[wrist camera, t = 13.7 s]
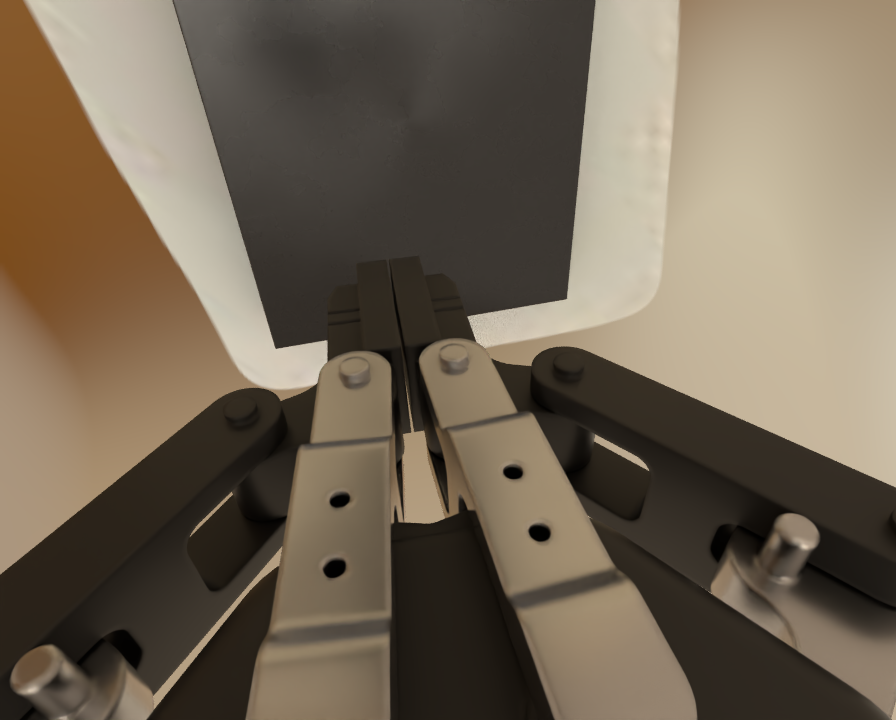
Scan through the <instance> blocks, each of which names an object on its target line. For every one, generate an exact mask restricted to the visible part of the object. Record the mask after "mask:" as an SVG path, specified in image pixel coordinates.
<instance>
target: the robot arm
mask: <svg viewBox="0 0 896 720" xmlns="http://www.w3.org/2000/svg"><path fill="white" fill-rule="evenodd" d="M389 267H390V276H391V284H392V290H391V284H390V278H389V273H388V267H387V261H386V260H378V261H369V262H360V263H356V269H357V281H358V284H350V285H342V286H336V288H335V289H334V290H333V292H332V293H331V295H330V296H329V298H328V362H327V363H326V364H325V365H324V366H323V367H322V369H321V371H320V373H319V378H318V383H317V384H316V385H315V386H313V387H312V388H310V389H309V390H307V391H305V392H303V393H301V394H298V395H296V396H293V397H291V398H288V399H285V400H283V401H280V399H279V398H278V396H277V395H276V394H274V393H273V392H271V391H269V390H266V389H261V388H247V389H241V390H237V391H234V392H231V393H229V394H226V395H225V396H223V397H221V398H220V399H218V400H217V401H215V402H214V403H212V404H211V405H210V406H209V407H208V408H206V409H205V410H204V411H203V412H201V413H200V414H199V415H198V416H196V417H195V418H194V419H193V420H191V421H190V422H189V423H188V424H186V425H185V426H184V427H183V428H182V429H180V430H179V431H178V432H177V433H175V434H174V435H173V436H172V437H170V438H169V439H168V440H167V441H165V442H164V443H163V444H162V445H160V446H159V447H158V448H157V449H155V450H154V451H153V452H152V453H150V454H149V455H148V456H147V457H146V458H145V459H143V460H142V461H141V462H140V463H138V464H137V465H136V466H134V467H133V468H132V469H131V470H129V471H128V472H127V473H126V474H124V475H123V476H122V477H121V478H119V479H118V480H117V481H116V482H115V483H113V484H112V485H111V486H110V487H108V488H107V489H106V490H105V491H103V492H102V493H101V494H100V495H98V496H97V497H96V498H95V499H93V500H92V501H91V502H90V503H89V504H87V505H86V506H85V507H84V508H82V509H81V510H80V511H79V512H77V513H76V514H75V515H74V516H72V517H71V518H70V519H69V520H67V521H66V522H65V523H64V524H62V525H61V526H60V527H59V528H58V529H56V530H55V531H54V532H53V533H51V534H50V535H49V536H48V537H46V538H45V539H44V540H43V541H42V542H40V543H39V544H38V545H36V546H35V547H34V548H33V549H32V550H30V551H29V552H28V553H27V554H25V555H24V556H23V557H22V558H20V559H19V560H18V561H17V562H16V563H14V564H13V565H12V566H10V567H9V568H8V569H7V570H5V571H4V572H3V573H2V574H1V575H0V720H892V719H891V717H892V713H893V709H894V706H895V702H896V488H895V487H893V486H891V485H889V484H886V483H884V482H882V481H879V480H877V479H875V478H873V477H870V476H868V475H866V474H864V473H861V472H859V471H857V470H855V469H852V468H850V467H848V466H846V465H843V464H841V463H839V462H837V461H834V460H832V459H830V458H828V457H825V456H823V455H821V454H819V453H816V452H814V451H812V450H809V449H807V448H805V447H803V446H800V445H798V444H796V443H794V442H791V441H789V440H787V439H785V438H782V437H780V436H778V435H776V434H773V433H771V432H769V431H767V430H764V429H762V428H760V427H757V426H755V425H753V424H751V423H749V422H746V421H744V420H741V419H739V418H737V417H735V416H732V415H730V414H728V413H726V412H724V411H721V410H719V409H717V408H714V407H712V406H710V405H708V404H706V403H703V402H701V401H699V400H697V399H694V398H692V397H690V396H688V395H685V394H683V393H680V392H678V391H676V390H674V389H671V388H669V387H667V386H665V385H663V384H660V383H658V382H656V381H654V380H651V379H649V378H647V377H645V376H642V375H640V374H638V373H635V372H633V371H631V370H629V369H627V368H624V367H622V366H620V365H617V364H615V363H613V362H611V361H608V360H606V359H604V358H602V357H599V356H597V355H595V354H592V353H590V352H588V351H585V350H583V349H579V348H574V347H554V348H550V349H547V350H544V351H542V352H541V353H539V354H538V355H537V356H536V357H535V358H534V360H533V362H532V366H522V365H512V364H505V363H501V362H499V361H496V360H493V359H491V358H490V356H489V354H488V352H487V351H486V349H485V348H484V347H483V346H481V345H480V344H478V343H476V340H475V337H474V334H473V331H472V329H471V326H470V323H469V320H468V317H467V314H466V312H465V309H464V307H463V303H462V300H461V298H460V295H459V292H458V289H457V286H456V283H455V282H453V281H452V280H451V279H450V278H448V277H447V276H446V275H445V274H443V273H441V274H433V275H425V276H424V272H423V269H422V265H421V261H420V258H419V256H411V257H403V258H394V259H389ZM392 293H393V296H392ZM405 381H406V383H405ZM406 386H407V392H408V398H409V404H410V410H411V415H412V421H413V428H414V432H417V431H423V430H424V431H425V437H426V442H427V454H428V461H429V465H430V468H431V471H432V475H433V478H434V482H435V485H436V489H437V492H438V496H439V499H440V502H441V506H442V509H443V513H444V516H445V519H443V520H441V521H438V522H435V523H431V524H422V523H406V511H405V488H404V487H405V486H404V464H403V454H404V439H403V434H405V433H411V427H410V419H409V410H408V401H407V392H406ZM595 434H596V435H598V436H600V437H602V438H604V439H605V440H607V441H609V442H611V443H613V444H615V445H617V446H618V447H620V448H622V449H624V450H626V451H628V452H630V453H632V454H634V455H635V456H637V457H639V458H640V459H641V460H642V461H643V462H644V463H645V464H646V465H647V467H648V469H649V471H648V470H646V469H644V468H642V467H640V466H639V465H637V464H635V463H633V462H631V461H629V460H627V459H626V458H624V457H622V456H620V455H618V454H616V453H614V452H612V451H611V450H609V449H607V448H605V447H603V446H601V445H600V444H598V443H596V442H594V438H595ZM231 492H232V493H233V495H232V496H231V497H230V498H229V499H228V500H227V501H226V502H225V503H224V504H223V505H222V506H221V507H220V508H219V509H218V510H217V511H216V512H215V513H214V514H213V515H212V516H211V517H210V518H209V519H208V520H207V521H206V522H205V523H204V524H203V525H202V526H201V527H200V528H199V529H198V530H197V531H196V532H195V533H194V534H193V535H192V536H191V537H190V535H191V533H192V531H193V530H194V529H195V527H196V526H197V525H198V524H199V523H200V522H201V521H202V520H203V519H204V518H205V517H206V516H207V515H208V514H209V513H210V512H211V511H212V510H213V509H214V508H215V507H216V506H217V505H218V504H219V503H220V502H221V501H222V500H223V499H224V498H225V497H226V496H228V495H229V494H230V493H231ZM588 516H589V517H591V518H589V517H588ZM189 537H190V538H189ZM281 547H282V552H281V559H280V565H279V566H278V567H276V568H275V569H274V570H272V571H271V572H270V573H269V574H268V575H266V576H265V577H264V578H263V579H261V580H260V581H259V582H258V583H257V584H256V585H255V586H254V587H253V588H252V590H250V591H249V593H248V594H247V595H246V596H245V597H244V599H243V600H242V601H241V602H240V604H239V605H238V606H237V607H236V609H235V610H234V611H233V612H232V614H231V615H230V616H229V617H228V618H227V620H226V621H225V622H224V623H223V625H222V626H221V627H220V629H219V630H218V631H217V632H216V633H215V635H214V636H213V637H212V638H211V640H210V641H209V642H208V643H207V645H206V646H205V647H204V648H203V649H202V651H201V652H200V653H199V654H198V656H197V657H196V658H195V659H194V661H193V662H192V663H191V664H190V666H189V667H188V668H187V669H186V671H185V672H184V673H183V674H182V676H181V677H180V678H179V679H178V681H177V682H176V683H175V684H174V686H173V687H172V688H171V689H170V691H169V692H168V693H167V694H166V695H165V697H164V698H163V699H162V700H161V702H160V703H159V704H158V705H157V707H156V708H155V709H154V700H153V696H154V694H155V693H156V692H157V691H158V690H159V688H160V687H161V686H162V685H163V684H164V683H165V682H166V680H167V679H168V678H169V677H170V676H171V675H172V674H173V672H174V671H175V670H176V669H177V668H178V667H179V665H180V664H181V663H182V662H183V661H184V659H185V658H186V657H187V656H188V655H189V653H191V652H192V650H193V649H194V648H195V647H196V646H197V645H198V643H199V642H200V641H201V640H202V639H203V638H204V636H205V635H206V634H207V633H208V632H209V631H210V629H211V628H212V627H213V626H214V625H215V624H216V622H217V621H218V620H219V619H220V618H221V616H222V615H223V614H224V613H225V612H226V611H227V610H228V608H229V607H230V606H231V605H232V604H233V603H234V601H235V600H236V599H237V598H238V597H239V596H240V594H241V593H242V592H243V591H244V590H245V589H246V587H247V586H248V585H249V584H250V583H251V582H252V581H253V579H254V578H255V577H256V576H257V575H258V574H259V572H260V571H261V570H262V569H263V568H264V567H265V565H266V564H267V563H268V562H269V561H270V560H271V558H272V557H273V556H274V555H275V554H276V553H277V551H278V550H279V549H280V548H281ZM702 587H703V588H702ZM705 589H706V590H705ZM708 591H709V592H711V593H712V594H711V593H709V592H708Z"/></svg>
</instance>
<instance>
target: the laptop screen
mask: <svg viewBox="0 0 896 720" xmlns="http://www.w3.org/2000/svg"><path fill="white" fill-rule="evenodd" d="M173 4H174V7H175V11H176V14H177V17H178V21H179V24H180V27H181V31H182V34H183V38H184V41H185V44H186V48H187V51H188V55H189V58H190V61H191V65H192V68H193V71H194V75H195V78H196V82H197V85H198V88H199V92H200V95H201V98H202V102H203V105H204V109H205V112H206V115H207V119H208V122H209V125H210V129H211V132H212V136H213V139H214V142H215V146H216V149H217V153H218V156H219V159H220V163H221V166H222V169H223V173H224V176H225V180H226V183H227V186H228V190H229V193H230V196H231V200H232V203H233V207H234V210H235V213H236V217H237V220H238V223H239V227H240V230H241V234H242V237H243V240H244V244H245V247H246V251H247V254H248V257H249V261H250V264H251V267H252V271H253V274H254V278H255V281H256V284H257V288H258V291H259V294H260V298H261V301H262V305H263V308H264V311H265V315H266V318H267V321H268V325H269V328H270V332H271V335H272V338H273V342H274V345H275V348H276V349H277V348H283V347H289V346H295V345H301V344H307V343H313V342H319V341H324V340H328V298H329V296H330V295H331V293H332V292H333V290H334V289H335V288H336V286H342V285H350V284H358V281H357V269H356V263H360V262H369V261H378V260H386V261H387V267H388V273H389V278H390V284H391V276H390V267H389V259H394V258H403V257H411V256H419V258H420V261H421V265H422V269H423V272H424V276H425V275H433V274H441V273H443V274H445V275H446V276H447V277H448V278H450V279H451V280H452V281H453V282H455V283H456V286H457V289H458V292H459V295H460V298H461V300H462V303H463V307H464V309H465V312H466V314H467V316H471V315H477V314H483V313H488V312H494V311H500V310H506V309H512V308H518V307H524V306H529V305H535V304H541V303H547V302H553V301H559V300H565V299H567V291H568V281H569V270H570V260H571V249H572V239H573V229H574V218H575V208H576V197H577V187H578V177H579V166H580V156H581V145H582V135H583V125H584V114H585V104H586V93H587V83H588V72H589V62H590V52H591V41H592V31H593V20H594V10H595V0H173ZM391 290H392V284H391ZM392 296H393V293H392Z"/></svg>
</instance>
